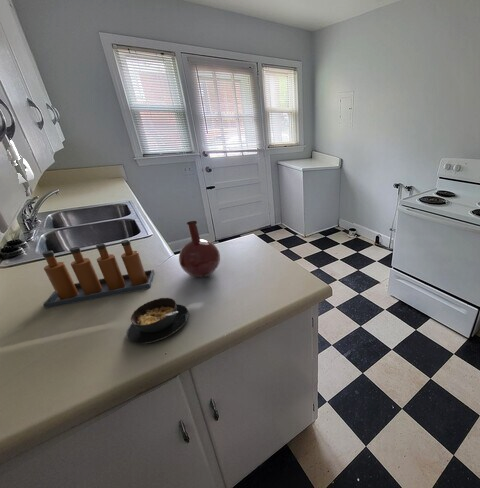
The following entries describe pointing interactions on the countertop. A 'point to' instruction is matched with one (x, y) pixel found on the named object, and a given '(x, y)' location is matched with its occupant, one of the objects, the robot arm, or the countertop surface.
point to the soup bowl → (156, 320)
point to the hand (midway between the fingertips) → (19, 199)
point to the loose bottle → (59, 277)
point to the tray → (128, 287)
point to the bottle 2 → (109, 268)
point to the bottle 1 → (85, 273)
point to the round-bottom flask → (198, 254)
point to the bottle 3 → (133, 264)
